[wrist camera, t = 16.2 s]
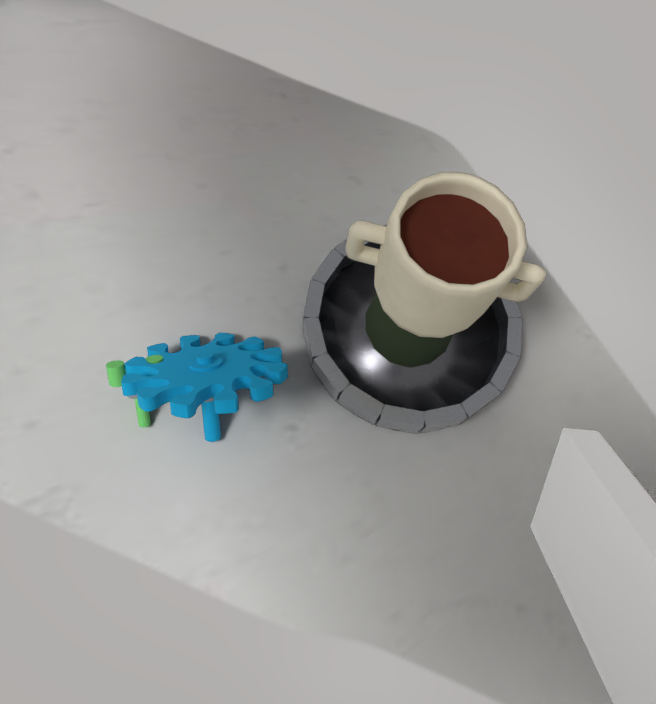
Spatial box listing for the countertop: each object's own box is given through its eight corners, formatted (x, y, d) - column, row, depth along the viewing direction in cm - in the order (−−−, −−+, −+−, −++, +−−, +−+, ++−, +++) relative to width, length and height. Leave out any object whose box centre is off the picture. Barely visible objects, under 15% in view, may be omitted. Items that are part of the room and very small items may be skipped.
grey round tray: (263, 303, 41) (262, 289, 39) (423, 208, 45) (430, 190, 43) (389, 476, 37) (395, 471, 35) (551, 355, 41) (565, 345, 39)
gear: (297, 327, 39) (270, 398, 30) (299, 403, 41) (275, 490, 32) (140, 321, 40) (68, 389, 30) (151, 396, 42) (87, 479, 33)
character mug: (487, 304, 42) (571, 198, 30) (473, 393, 39) (559, 318, 27) (344, 267, 42) (369, 147, 30) (320, 354, 39) (338, 262, 27)
